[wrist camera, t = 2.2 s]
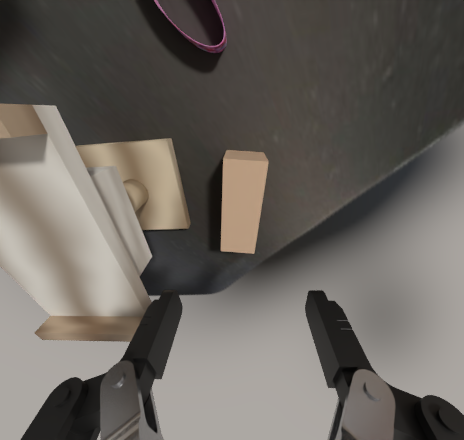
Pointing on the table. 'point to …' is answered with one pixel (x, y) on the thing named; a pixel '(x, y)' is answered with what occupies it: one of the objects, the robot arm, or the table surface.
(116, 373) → the robot arm
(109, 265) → the display stand
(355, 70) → the table surface
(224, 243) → the tan block
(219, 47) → the headband
